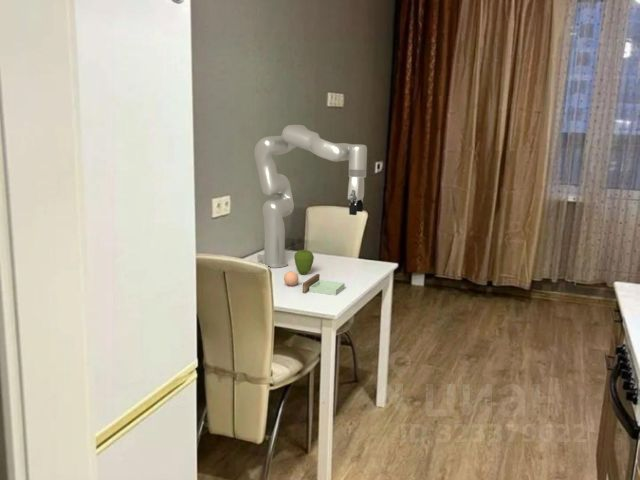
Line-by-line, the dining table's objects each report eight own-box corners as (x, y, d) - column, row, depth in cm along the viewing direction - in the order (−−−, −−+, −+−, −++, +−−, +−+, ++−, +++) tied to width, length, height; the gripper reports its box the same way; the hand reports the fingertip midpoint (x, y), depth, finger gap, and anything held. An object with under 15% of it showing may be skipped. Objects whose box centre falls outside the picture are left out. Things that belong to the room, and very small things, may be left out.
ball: (281, 286, 250) (281, 272, 249) (287, 282, 256) (287, 269, 255) (294, 288, 248) (295, 274, 247) (300, 284, 254) (300, 270, 253)
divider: (302, 293, 242) (302, 283, 241) (316, 283, 257) (316, 273, 256) (305, 293, 241) (305, 283, 241) (319, 283, 256) (319, 274, 255)
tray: (309, 291, 243) (309, 287, 243) (319, 284, 254) (319, 280, 253) (335, 295, 240) (335, 290, 239) (344, 288, 250) (344, 283, 249)
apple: (295, 276, 265) (295, 251, 263) (293, 272, 274) (293, 247, 271) (314, 276, 267) (315, 251, 264) (311, 271, 275) (312, 246, 273)
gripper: (354, 171, 267) (353, 209, 271) (343, 174, 251) (341, 215, 255) (370, 172, 265) (369, 210, 268) (360, 175, 249) (359, 216, 252)
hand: (356, 213), depth 261 cm, fingers open, 9 cm apart
